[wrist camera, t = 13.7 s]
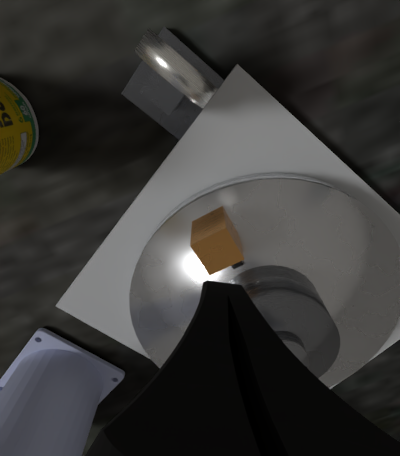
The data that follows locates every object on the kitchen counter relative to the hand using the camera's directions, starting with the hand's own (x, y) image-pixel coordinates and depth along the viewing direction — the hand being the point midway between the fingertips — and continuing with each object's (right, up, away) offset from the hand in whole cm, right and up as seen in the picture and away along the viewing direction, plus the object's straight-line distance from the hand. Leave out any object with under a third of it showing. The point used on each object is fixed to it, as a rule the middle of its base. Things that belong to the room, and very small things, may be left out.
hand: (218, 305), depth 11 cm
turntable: (+4, -2, +11) cm, 12 cm away
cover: (+4, -3, +10) cm, 11 cm away
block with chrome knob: (-2, +11, +7) cm, 13 cm away
